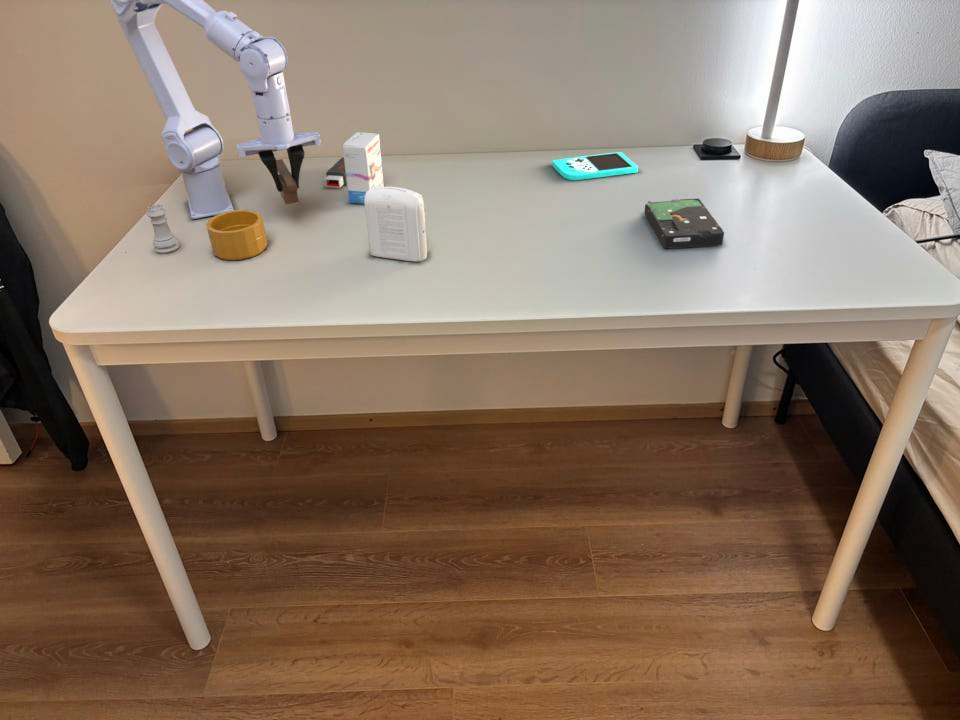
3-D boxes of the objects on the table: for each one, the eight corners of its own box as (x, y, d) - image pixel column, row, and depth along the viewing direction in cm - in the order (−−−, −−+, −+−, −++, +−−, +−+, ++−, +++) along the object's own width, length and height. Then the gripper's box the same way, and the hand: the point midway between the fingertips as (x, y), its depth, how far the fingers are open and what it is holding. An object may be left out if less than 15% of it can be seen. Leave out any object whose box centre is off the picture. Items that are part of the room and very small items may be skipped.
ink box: (372, 205, 147) (365, 146, 140) (348, 203, 147) (340, 145, 141) (385, 188, 153) (379, 131, 146) (362, 187, 154) (355, 130, 147)
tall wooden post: (276, 186, 143) (271, 160, 140) (289, 184, 144) (284, 158, 141) (290, 213, 133) (284, 186, 130) (304, 211, 133) (299, 183, 130)
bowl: (211, 243, 135) (203, 215, 132) (263, 233, 138) (257, 206, 134) (217, 265, 128) (209, 236, 124) (271, 254, 130) (265, 226, 127)
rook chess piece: (185, 245, 135) (173, 203, 130) (169, 256, 131) (156, 214, 127) (165, 242, 136) (152, 201, 131) (149, 252, 133) (135, 211, 128)
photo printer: (431, 253, 129) (426, 185, 122) (422, 264, 126) (416, 195, 118) (377, 246, 132) (368, 180, 124) (367, 257, 128) (357, 190, 121)
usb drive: (364, 168, 163) (363, 156, 162) (344, 189, 154) (343, 176, 152) (342, 167, 164) (340, 154, 163) (321, 187, 155) (319, 175, 153)
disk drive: (723, 247, 127) (696, 210, 139) (726, 232, 126) (699, 196, 138) (664, 251, 127) (642, 214, 139) (665, 236, 125) (644, 200, 137)
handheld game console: (551, 164, 161) (551, 158, 160) (620, 156, 164) (620, 150, 163) (566, 181, 153) (567, 175, 152) (638, 172, 156) (639, 166, 155)
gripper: (234, 127, 124) (251, 203, 132) (319, 114, 128) (331, 188, 136) (228, 115, 129) (245, 189, 137) (311, 103, 134) (322, 175, 142)
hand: (287, 188), depth 137 cm, fingers closed on tall wooden post, 2 cm apart
